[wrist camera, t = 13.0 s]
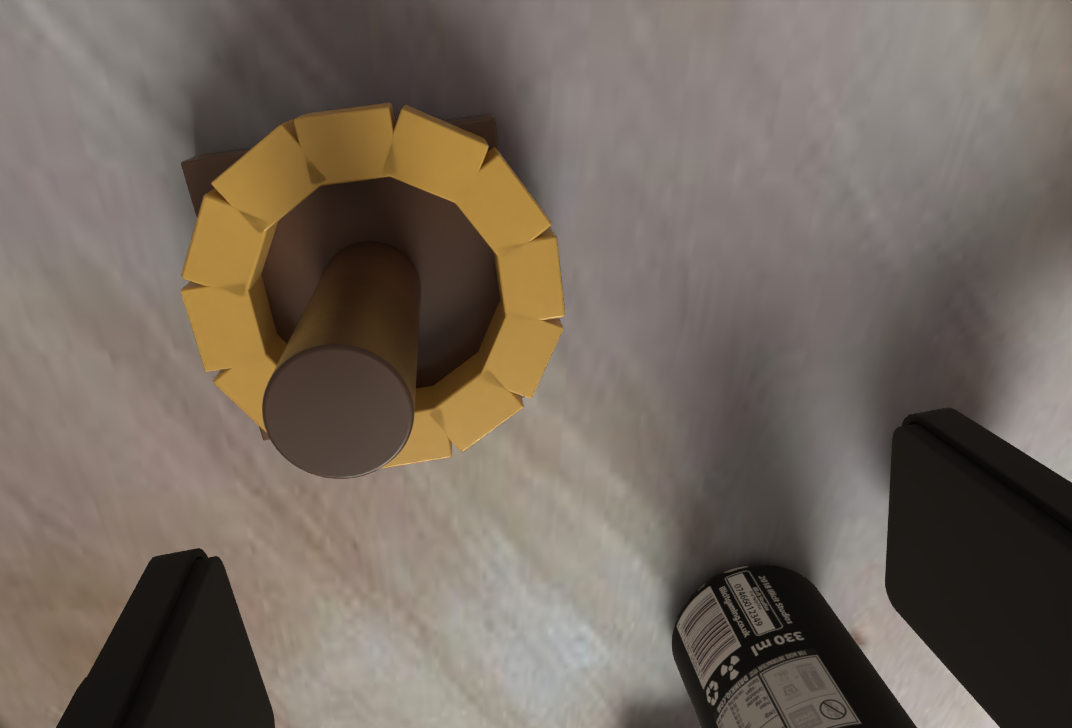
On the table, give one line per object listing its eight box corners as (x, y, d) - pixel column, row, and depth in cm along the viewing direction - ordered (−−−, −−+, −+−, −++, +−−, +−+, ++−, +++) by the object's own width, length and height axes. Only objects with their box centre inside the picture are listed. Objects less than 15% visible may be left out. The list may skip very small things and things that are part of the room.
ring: (254, 463, 25) (241, 492, 24) (156, 132, 21) (132, 139, 20) (569, 412, 26) (578, 437, 24) (533, 83, 22) (541, 86, 20)
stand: (272, 421, 27) (179, 631, 17) (194, 156, 23) (22, 229, 13) (528, 379, 27) (581, 558, 17) (491, 113, 24) (530, 154, 14)
